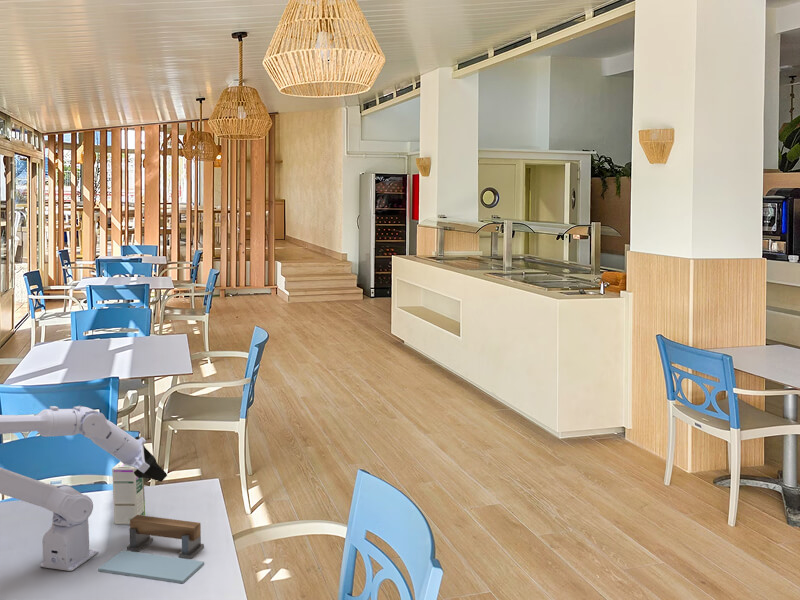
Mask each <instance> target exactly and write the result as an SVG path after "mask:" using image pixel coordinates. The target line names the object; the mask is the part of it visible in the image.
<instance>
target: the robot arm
mask: <svg viewBox="0 0 800 600" xmlns="http://www.w3.org/2000/svg"><path fill="white" fill-rule="evenodd" d="M29 432H37V433H38V434H39V435H40V436H41V437H44V438H45V437H46V438H47V437H64V436H65V437H67V436H68V437H69V436H71V437H72V436H75V435H79V434H80V435H83V437H85V438H88V439H89V440H91V442H92V443H93V444H95V445H96V446H98V447H99V448H101V449H102V450H104V451H105V452H107V453H109V454H110V455H111V456H113V457H114V458H116V459H117V460H118V461H119V462H120V461H121V462H122V463H123V464H125V465H128V466H131V467H135V468H137V470H136V471H135V472H134V474H135V475H136V476H137V477H138V478H144V479H151V480H154V481H157V482H163V481H164V480H165V479H166V477H168V473H166V471H165V470H164V469H163V468H162V467H161V466H160V465H159V464H158V462H157V459H156V457H155V456H154V455H153V454H152V453H151V452H150V451H149V450H148V449H147V448H146V446H145V443H146V442H147V440H146V439H145V438H144V437H143V436H141V437H140V436H135V437H133V436H132V435H131V434H129V433H127V432H126V430H123V428H121V427H119V426H118V425H116V424H115V423H113V422H112V421H111V420H108V419H107V418H106V416H105V414H103V412H99V411H97V410H95V409H93V408H90V407H87V406H82V405H78V406H73V408H59V407H58V406H56V405H53V406H52V405H50V406H49V408H48V409H47V408H44V409H42V410H41V411H40V412H38V414H36V415H29V414H28V415H27V414H26V415H25V414H20V415H19V414H0V435H5V434H16V433H17V434H18V433H29ZM0 494H1V495H4V496H7V497H10V498H13V499H16V500H18V501H22V502H25V503H28V504H31V505H34V506H38V507H40V508H41V507H42V508H44V509H45V510H47V511H50V512H52V514H53V515H52V520H51V521H52V524H51V526H50V528H49V529H48V530H47V531H46V532H45V533H44V535H43V536H42V542H41V543H42V562H41V563H40V564H39V567H42V568H46V569H47V568H48V569H53V570H54V569H55V570H60V571H65V572H67V571H68V572H72V571H75V570H76V569H77V568H78V567H80V566H81V565H83V564H85V562H87V561H88V560H90V559H91V558H93V557H94V556H96V555H97V554H98V553H99V551H98V550H97V549H90V530H89V529H90V526H89V525H90V524H89V518H90V516H91V515H92V512H93V509H94V503H93V502H94V501H93V499H92V498H91V497H90V496H88V495H86V494H83V493H82V492H80V491H78V490H77V489H75V488H73V486H71V485H68V484H59V485H58V484H57V485H56V484H52V483H46V482H43V481H40V480H38V479H35V478H32V477H29V476H26V475H22V474H20V473H17V472H14V471H11V470H9V469H5V468H3V467H0Z"/></svg>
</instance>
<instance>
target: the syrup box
mask: <svg viewBox="0 0 800 600" xmlns="http://www.w3.org/2000/svg"><path fill="white" fill-rule="evenodd" d="M136 470H137V468H135V467H131V466H128V465H125V464H123V463H122V462H121V461H120V460H119V462H118V463H117V464H115V466H113V467H112V468H111V471H112V473H111V475H112V492H113V493H112V495H113V497H112V498H113V517H114V524H115V525H130V520H131V519H132V518H134V517H135V516H137V515H142V516H146V501H145V500H146V499H145V478H138V477H137V476H136V475H135V474H134V472H135V471H136Z"/></svg>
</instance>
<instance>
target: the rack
mask: <svg viewBox="0 0 800 600" xmlns="http://www.w3.org/2000/svg"><path fill="white" fill-rule="evenodd" d="M201 537H202V535H201V536H199V537H198V538H197V539H196V540H195V541H190V535H185V534H183V535H182V539H181V551H180V552H179V553H178V558H182V559H189V560H192V559H193V558H194V557H195V556H196V555H197V554H199V553H200V552H201V551H203V549H204V548H205V544H204V543H202V542H201V541H202V540H201V539H202V538H201ZM152 542H154V537H153V536H151V535H145V534H138V528H130V527H129V544H128V545H127V546H126V551H131V552H138V553H140V551H142V550H143V549H144V548H145V547H147V546H148V545H150V544H151V543H152Z"/></svg>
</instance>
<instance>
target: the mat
mask: <svg viewBox="0 0 800 600" xmlns="http://www.w3.org/2000/svg"><path fill="white" fill-rule="evenodd" d="M204 565H205V561H201V560H195V559H188V558H181V557H173V556H167V555H159V554H151V553H146V552H145V553H144V552H137V551H130V550H121V551H119V553H117V554H116V555H114V556H113V557H112V558H110V559H109V560H108V561H106V562H105V563H103V564H102V565H100V566H99V567H98V568H97V571H98V572H102V573H109V574H115V575H122V576H130V577H136V578H144V579H148V580H149V579H150V580H156V581H163V582H171V583H177V584H184V583H185V582H186V581H188V579H190V578H191V577H192V576H193V575H194V574H195V573H196V572H198V570H200V569H201V568H202V567H203V566H204Z"/></svg>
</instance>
